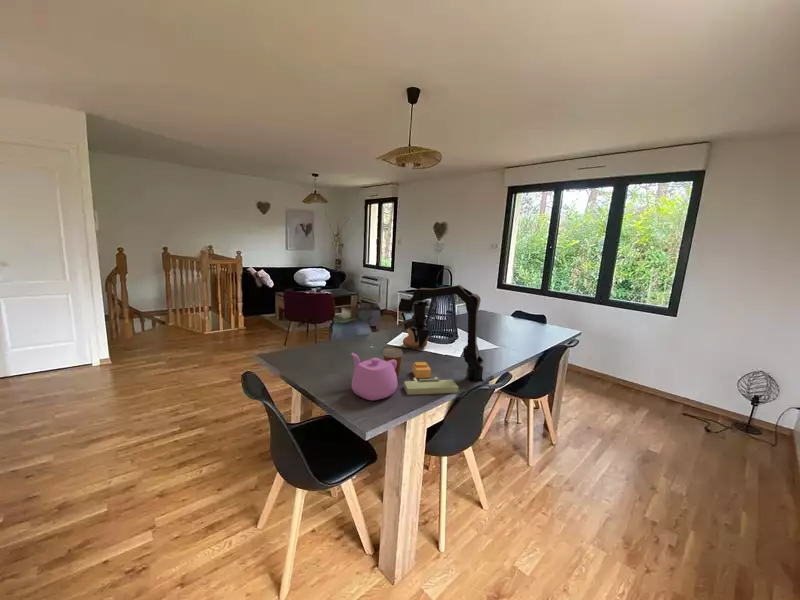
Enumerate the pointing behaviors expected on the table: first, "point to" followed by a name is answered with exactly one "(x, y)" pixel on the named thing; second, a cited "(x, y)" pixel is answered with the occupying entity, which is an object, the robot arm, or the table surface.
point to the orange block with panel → (421, 370)
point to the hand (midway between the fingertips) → (418, 344)
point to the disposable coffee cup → (393, 357)
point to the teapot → (374, 378)
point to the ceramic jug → (412, 340)
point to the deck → (430, 386)
